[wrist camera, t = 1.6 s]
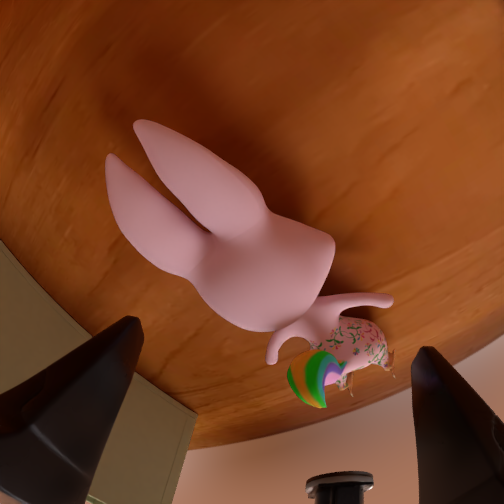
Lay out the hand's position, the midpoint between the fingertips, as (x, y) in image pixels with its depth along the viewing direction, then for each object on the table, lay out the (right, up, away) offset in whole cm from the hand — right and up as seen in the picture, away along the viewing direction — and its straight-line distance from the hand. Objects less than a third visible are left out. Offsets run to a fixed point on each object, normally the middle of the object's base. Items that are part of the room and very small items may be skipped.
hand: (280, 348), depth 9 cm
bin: (-16, -5, +11) cm, 20 cm away
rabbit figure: (+1, +2, +4) cm, 5 cm away
